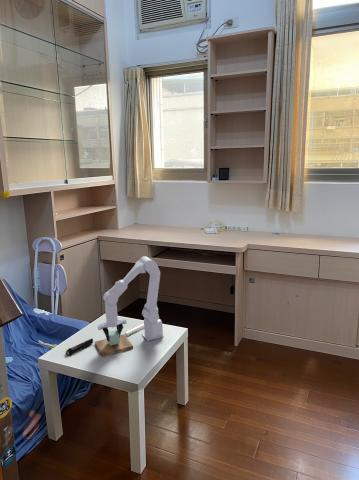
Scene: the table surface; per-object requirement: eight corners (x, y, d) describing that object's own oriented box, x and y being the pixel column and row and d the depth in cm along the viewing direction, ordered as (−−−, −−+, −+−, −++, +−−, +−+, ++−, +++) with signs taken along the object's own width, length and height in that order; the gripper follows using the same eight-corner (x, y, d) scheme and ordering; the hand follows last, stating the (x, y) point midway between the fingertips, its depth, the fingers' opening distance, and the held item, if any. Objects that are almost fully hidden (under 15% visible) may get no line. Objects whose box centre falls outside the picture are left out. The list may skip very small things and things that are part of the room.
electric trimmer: (95, 344, 185) (94, 339, 185) (69, 357, 174) (68, 351, 173) (90, 342, 188) (90, 337, 187) (64, 354, 176) (64, 348, 176)
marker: (147, 326, 205) (126, 337, 193) (145, 324, 206) (124, 334, 194) (148, 323, 204) (128, 334, 192) (146, 321, 205) (125, 331, 193)
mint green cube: (116, 338, 185) (116, 330, 184) (119, 343, 181) (119, 334, 179) (107, 341, 183) (106, 332, 182) (110, 345, 178) (109, 336, 177)
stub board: (124, 336, 192) (123, 330, 191) (133, 348, 180) (132, 341, 179) (95, 344, 185) (94, 337, 184) (102, 356, 173) (101, 349, 172)
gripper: (99, 321, 172) (101, 346, 175) (127, 314, 178) (129, 339, 181) (95, 315, 178) (97, 340, 181) (123, 309, 184) (124, 333, 187)
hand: (113, 339), depth 181 cm, fingers closed on mint green cube, 5 cm apart
